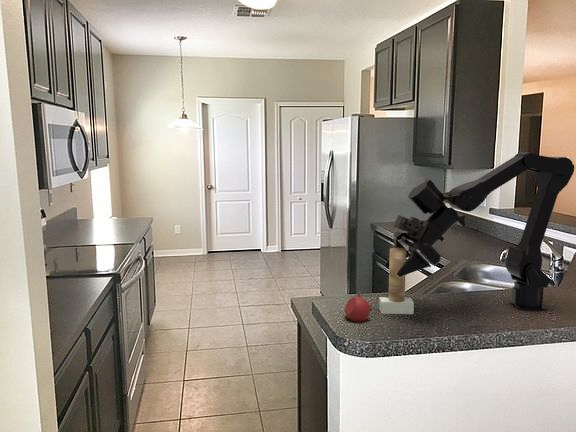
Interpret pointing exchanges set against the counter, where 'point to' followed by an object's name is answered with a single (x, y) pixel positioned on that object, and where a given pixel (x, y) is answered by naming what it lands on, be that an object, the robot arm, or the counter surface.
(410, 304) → the white block
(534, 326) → the counter surface
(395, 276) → the oak post
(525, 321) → the counter surface
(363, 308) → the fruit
